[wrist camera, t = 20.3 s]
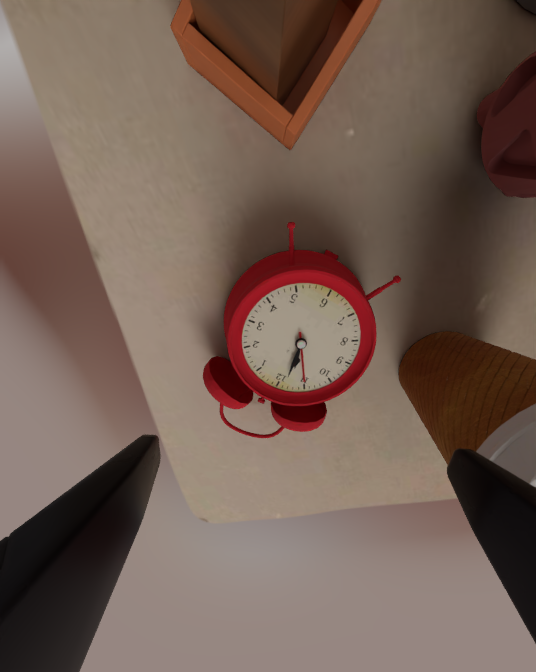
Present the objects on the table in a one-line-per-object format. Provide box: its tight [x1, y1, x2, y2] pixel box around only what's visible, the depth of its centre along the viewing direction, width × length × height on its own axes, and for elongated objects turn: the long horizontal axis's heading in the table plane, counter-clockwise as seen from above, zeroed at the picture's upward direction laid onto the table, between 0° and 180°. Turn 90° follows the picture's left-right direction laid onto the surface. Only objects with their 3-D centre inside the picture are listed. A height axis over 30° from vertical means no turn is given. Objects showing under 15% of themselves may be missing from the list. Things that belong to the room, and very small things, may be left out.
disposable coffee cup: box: [399, 331, 536, 487], centre depth 16 cm, size 10×10×12 cm
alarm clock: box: [203, 222, 401, 438], centre depth 19 cm, size 10×6×15 cm
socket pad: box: [171, 0, 382, 150], centre depth 13 cm, size 7×7×3 cm
